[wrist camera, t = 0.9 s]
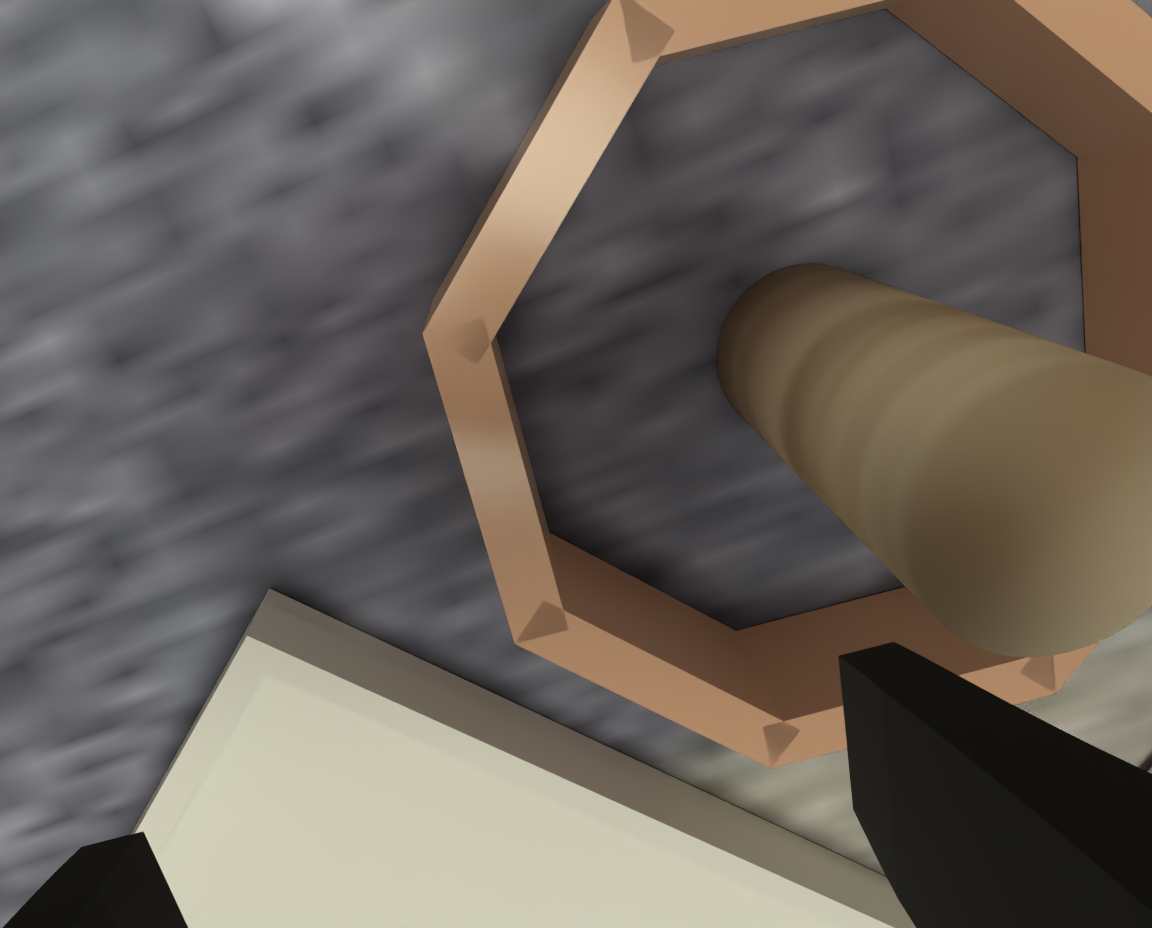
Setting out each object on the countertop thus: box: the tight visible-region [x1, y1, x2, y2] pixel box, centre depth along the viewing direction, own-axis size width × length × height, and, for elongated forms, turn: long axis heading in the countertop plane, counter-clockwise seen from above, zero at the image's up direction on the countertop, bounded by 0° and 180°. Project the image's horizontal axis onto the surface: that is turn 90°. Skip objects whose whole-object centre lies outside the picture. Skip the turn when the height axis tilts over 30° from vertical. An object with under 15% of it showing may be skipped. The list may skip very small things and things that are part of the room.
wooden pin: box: [717, 264, 1152, 657], centre depth 15 cm, size 4×4×9 cm
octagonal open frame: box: [423, 0, 1152, 768], centre depth 17 cm, size 14×14×4 cm
